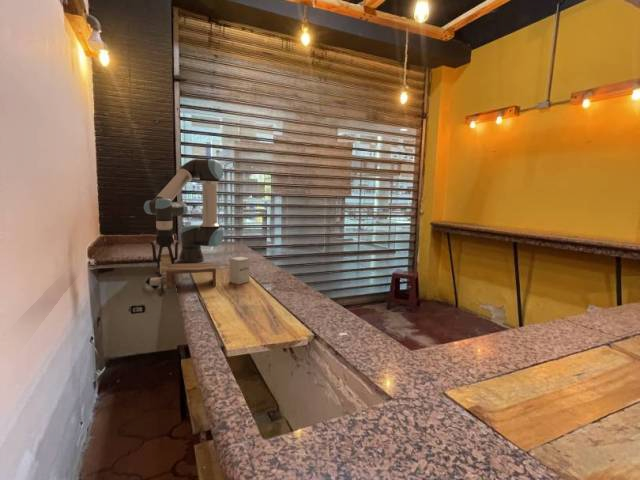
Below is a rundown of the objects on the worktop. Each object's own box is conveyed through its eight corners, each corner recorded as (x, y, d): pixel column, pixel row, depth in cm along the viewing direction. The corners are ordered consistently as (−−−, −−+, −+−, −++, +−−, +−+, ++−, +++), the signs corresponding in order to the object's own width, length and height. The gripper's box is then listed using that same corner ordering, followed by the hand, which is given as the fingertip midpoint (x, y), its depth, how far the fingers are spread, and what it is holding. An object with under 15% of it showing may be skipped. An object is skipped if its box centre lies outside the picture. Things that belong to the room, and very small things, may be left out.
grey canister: (238, 284, 168) (238, 260, 166) (229, 281, 172) (229, 258, 170) (249, 281, 174) (249, 258, 172) (240, 279, 178) (240, 256, 176)
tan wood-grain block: (162, 275, 175) (161, 253, 173) (170, 275, 176) (170, 253, 174) (158, 284, 159) (157, 260, 157) (168, 284, 160) (167, 259, 159)
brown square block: (151, 283, 165) (151, 277, 165) (162, 282, 167) (162, 277, 166) (149, 286, 160) (149, 280, 160) (161, 285, 162) (161, 279, 162)
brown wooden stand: (169, 281, 169) (169, 264, 168) (214, 279, 176) (214, 262, 175) (166, 289, 156) (166, 270, 155) (215, 286, 163) (215, 268, 162)
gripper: (144, 230, 164) (146, 276, 167) (182, 229, 169) (183, 274, 173) (147, 228, 171) (149, 272, 174) (183, 228, 176) (184, 270, 180)
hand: (166, 273), depth 173 cm, fingers closed on tan wood-grain block, 4 cm apart
